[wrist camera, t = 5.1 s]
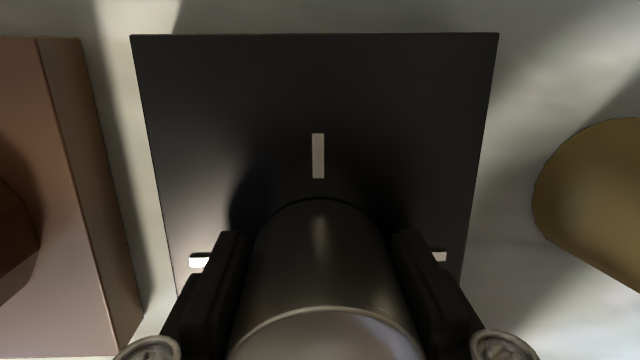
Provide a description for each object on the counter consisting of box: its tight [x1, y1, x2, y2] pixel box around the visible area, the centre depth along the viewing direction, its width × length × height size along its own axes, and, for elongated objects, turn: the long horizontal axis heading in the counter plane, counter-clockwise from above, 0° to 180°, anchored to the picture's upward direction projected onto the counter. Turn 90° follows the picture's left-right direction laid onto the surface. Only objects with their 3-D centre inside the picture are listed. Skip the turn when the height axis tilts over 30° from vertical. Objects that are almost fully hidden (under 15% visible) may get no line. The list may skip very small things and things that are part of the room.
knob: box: [224, 199, 428, 360], centre depth 9 cm, size 4×4×5 cm
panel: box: [130, 32, 499, 298], centre depth 13 cm, size 14×10×3 cm
